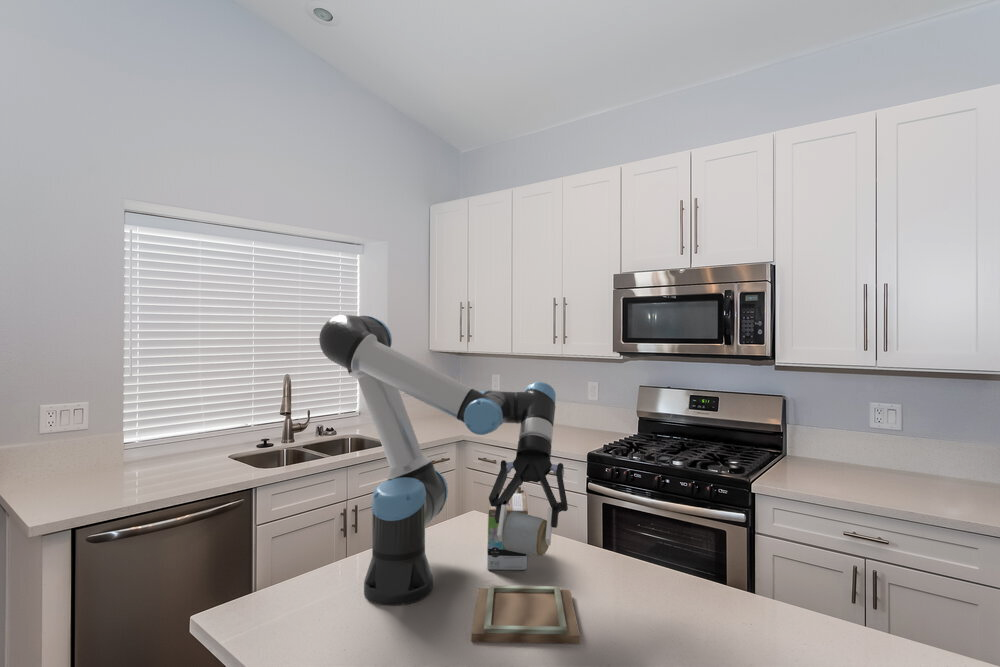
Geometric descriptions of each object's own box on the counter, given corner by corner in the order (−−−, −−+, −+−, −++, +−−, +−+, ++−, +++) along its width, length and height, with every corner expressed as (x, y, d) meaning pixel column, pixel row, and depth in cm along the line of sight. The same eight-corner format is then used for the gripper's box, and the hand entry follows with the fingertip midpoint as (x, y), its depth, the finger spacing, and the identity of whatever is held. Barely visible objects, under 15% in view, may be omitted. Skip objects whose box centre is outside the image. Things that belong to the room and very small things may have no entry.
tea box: (528, 571, 130) (528, 509, 130) (486, 570, 131) (486, 509, 131) (526, 546, 145) (526, 491, 146) (488, 546, 146) (488, 491, 146)
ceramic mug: (540, 563, 104) (540, 522, 104) (501, 555, 108) (501, 516, 108) (557, 544, 114) (557, 507, 114) (521, 538, 117) (521, 502, 117)
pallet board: (471, 641, 100) (471, 629, 100) (478, 594, 118) (478, 584, 118) (579, 643, 100) (579, 631, 100) (570, 596, 118) (570, 586, 118)
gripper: (584, 454, 122) (580, 552, 106) (490, 450, 126) (473, 544, 111) (582, 434, 117) (578, 535, 101) (485, 431, 121) (466, 527, 105)
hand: (523, 540), depth 106 cm, fingers closed on ceramic mug, 9 cm apart
